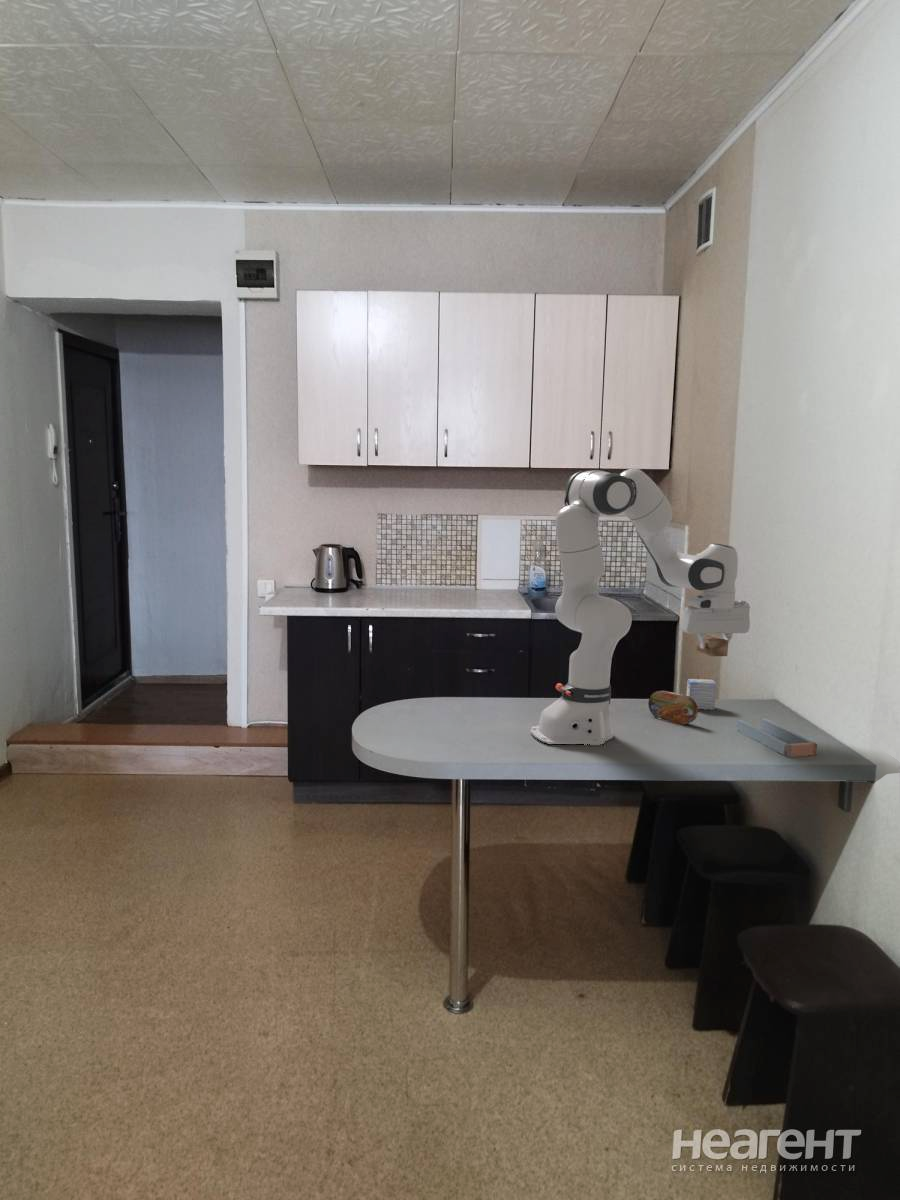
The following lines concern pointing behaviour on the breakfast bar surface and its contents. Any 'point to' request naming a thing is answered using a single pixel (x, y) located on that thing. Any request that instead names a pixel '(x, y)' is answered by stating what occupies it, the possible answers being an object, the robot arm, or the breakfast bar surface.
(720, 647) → the tan block
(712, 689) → the medicine box
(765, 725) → the trap channel
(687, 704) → the tin
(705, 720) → the breakfast bar surface
